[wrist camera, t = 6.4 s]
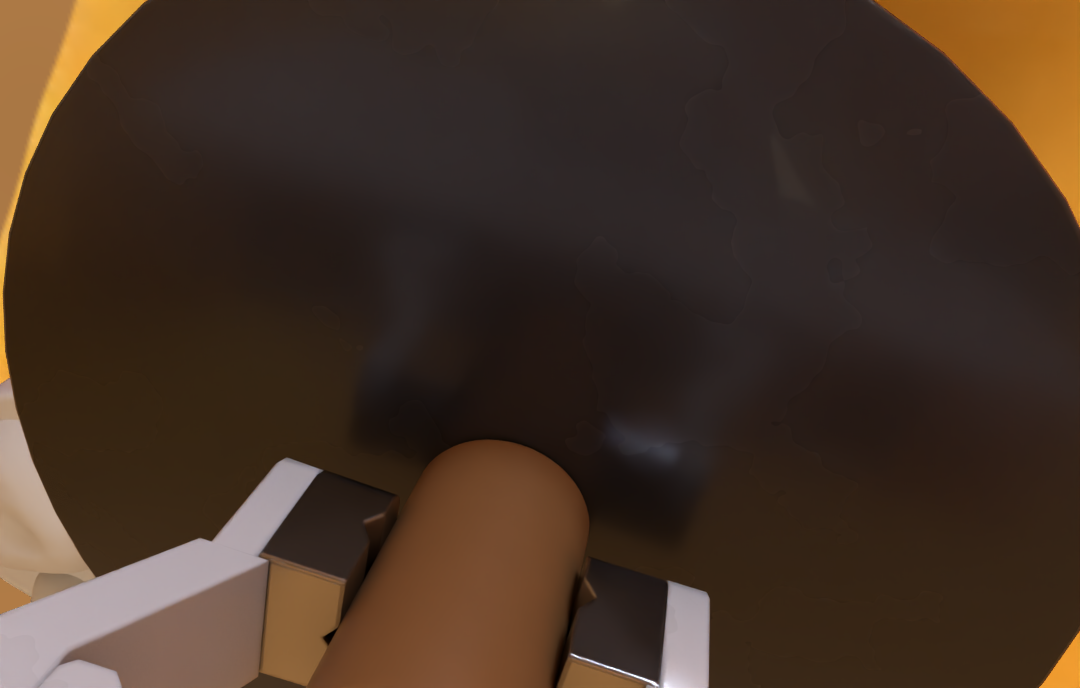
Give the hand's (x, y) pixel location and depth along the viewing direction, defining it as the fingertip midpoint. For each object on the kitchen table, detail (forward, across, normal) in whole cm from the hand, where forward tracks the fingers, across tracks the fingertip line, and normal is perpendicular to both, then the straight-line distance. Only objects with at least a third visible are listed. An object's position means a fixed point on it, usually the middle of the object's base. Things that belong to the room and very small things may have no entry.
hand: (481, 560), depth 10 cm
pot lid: (+2, 0, 0) cm, 2 cm away
